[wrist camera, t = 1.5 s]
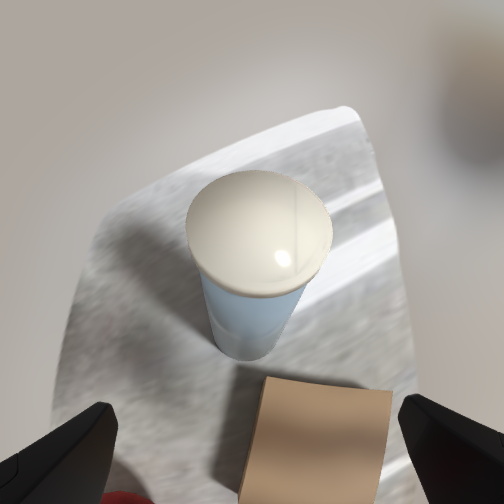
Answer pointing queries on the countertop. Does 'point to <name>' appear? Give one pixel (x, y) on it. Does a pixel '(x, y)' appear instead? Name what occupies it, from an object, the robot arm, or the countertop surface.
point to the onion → (123, 498)
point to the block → (315, 444)
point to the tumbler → (255, 255)
